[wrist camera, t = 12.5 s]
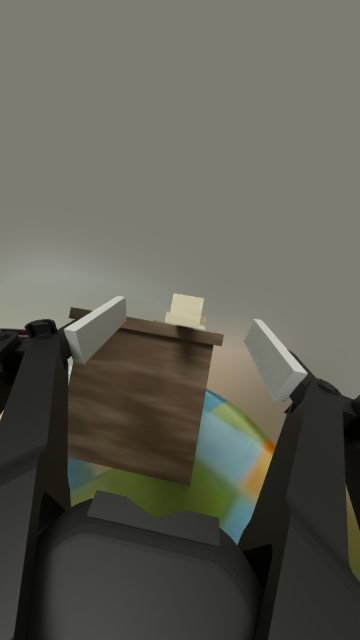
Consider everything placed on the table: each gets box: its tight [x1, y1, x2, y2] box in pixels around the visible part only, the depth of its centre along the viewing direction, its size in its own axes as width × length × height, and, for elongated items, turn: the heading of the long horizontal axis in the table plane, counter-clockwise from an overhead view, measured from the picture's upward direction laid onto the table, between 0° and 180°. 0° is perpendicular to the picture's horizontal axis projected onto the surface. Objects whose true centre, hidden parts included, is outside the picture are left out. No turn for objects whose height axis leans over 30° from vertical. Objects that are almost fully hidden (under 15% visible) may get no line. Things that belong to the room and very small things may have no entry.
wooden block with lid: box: [68, 308, 223, 486], centre depth 32 cm, size 15×28×28 cm, turn 87°
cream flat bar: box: [165, 294, 207, 330], centre depth 26 cm, size 25×10×3 cm, turn 178°
